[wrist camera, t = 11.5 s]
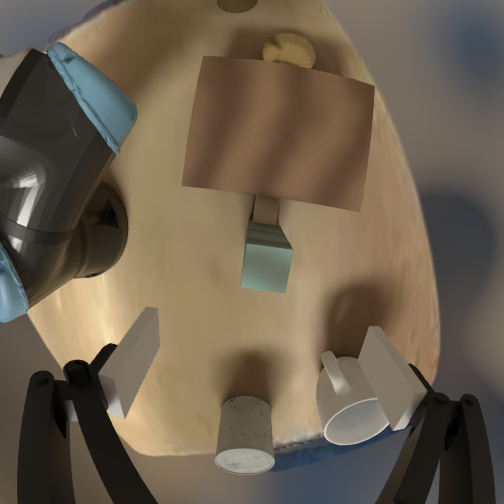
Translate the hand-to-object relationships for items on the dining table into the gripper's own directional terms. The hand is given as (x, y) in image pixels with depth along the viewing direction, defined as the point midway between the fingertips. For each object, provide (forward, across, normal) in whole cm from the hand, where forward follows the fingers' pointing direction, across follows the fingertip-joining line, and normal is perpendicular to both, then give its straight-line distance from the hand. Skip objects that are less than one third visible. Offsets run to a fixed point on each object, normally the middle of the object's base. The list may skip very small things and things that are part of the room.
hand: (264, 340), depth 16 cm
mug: (+23, +16, -20) cm, 34 cm away
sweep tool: (+23, +1, +11) cm, 25 cm away
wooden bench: (+23, +1, +14) cm, 27 cm away
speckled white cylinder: (+23, +2, -32) cm, 39 cm away
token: (+23, +1, +27) cm, 35 cm away
